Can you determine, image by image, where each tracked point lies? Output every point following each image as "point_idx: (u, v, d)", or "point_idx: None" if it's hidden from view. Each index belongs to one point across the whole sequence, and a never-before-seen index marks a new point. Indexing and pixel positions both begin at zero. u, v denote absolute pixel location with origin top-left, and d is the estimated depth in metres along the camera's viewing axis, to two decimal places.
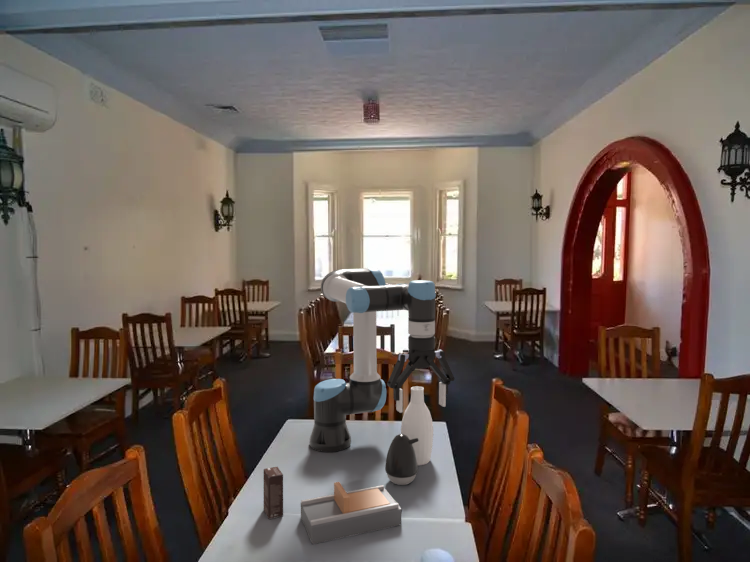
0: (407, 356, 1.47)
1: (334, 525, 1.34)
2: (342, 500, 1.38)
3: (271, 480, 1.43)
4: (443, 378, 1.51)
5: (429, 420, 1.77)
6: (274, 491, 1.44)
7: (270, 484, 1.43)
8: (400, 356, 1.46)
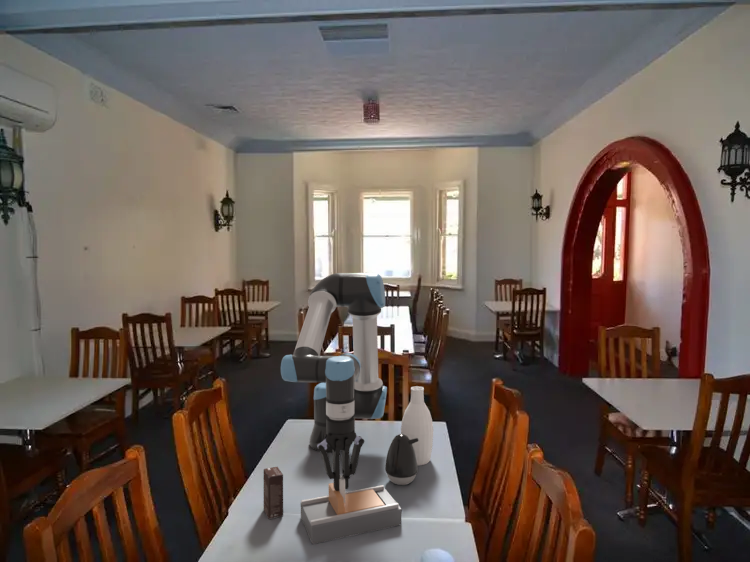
0: (325, 442, 1.38)
1: (334, 525, 1.34)
2: (336, 501, 1.38)
3: (271, 480, 1.43)
4: (346, 470, 1.40)
5: (429, 420, 1.77)
6: (274, 491, 1.44)
7: (270, 484, 1.43)
8: (318, 448, 1.37)
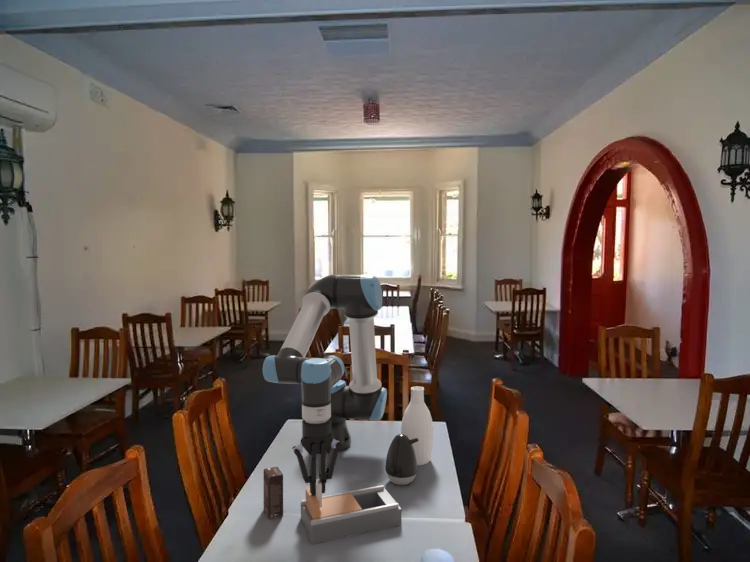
0: (301, 446, 1.36)
1: (334, 525, 1.34)
2: (312, 506, 1.35)
3: (271, 480, 1.43)
4: (322, 474, 1.38)
5: (429, 420, 1.77)
6: (274, 491, 1.44)
7: (270, 484, 1.44)
8: (294, 452, 1.35)
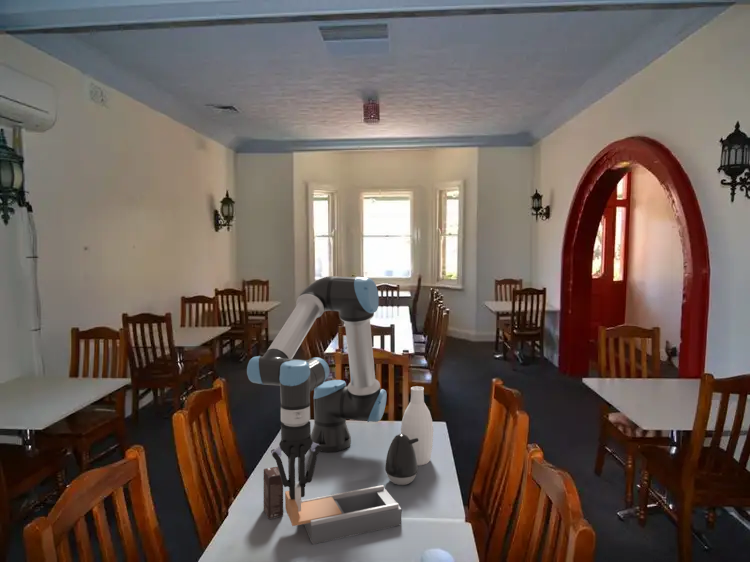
0: (279, 449, 1.34)
1: (334, 525, 1.34)
2: (291, 510, 1.33)
3: (271, 480, 1.43)
4: (301, 478, 1.36)
5: (429, 420, 1.77)
6: (274, 491, 1.44)
7: (270, 484, 1.43)
8: (272, 455, 1.33)
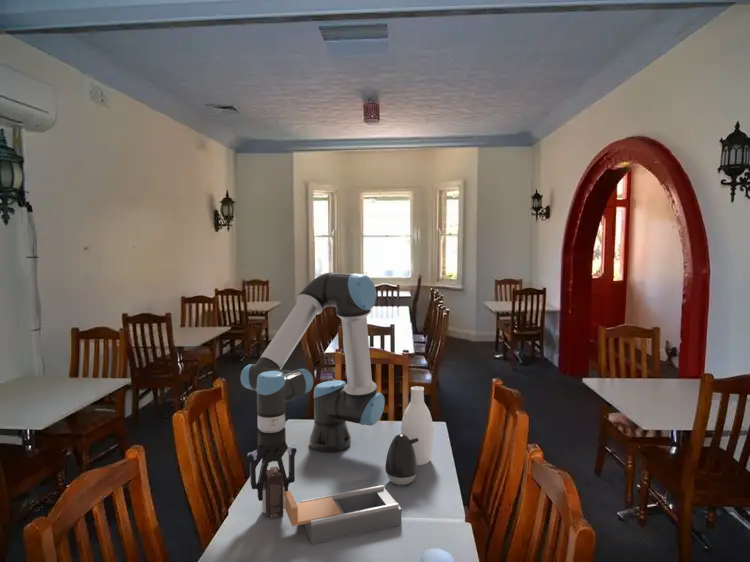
0: (255, 453, 1.44)
1: (334, 525, 1.34)
2: (290, 510, 1.33)
3: (270, 480, 1.43)
4: (284, 478, 1.47)
5: (429, 420, 1.77)
6: (274, 491, 1.44)
7: (270, 484, 1.43)
8: (248, 457, 1.43)
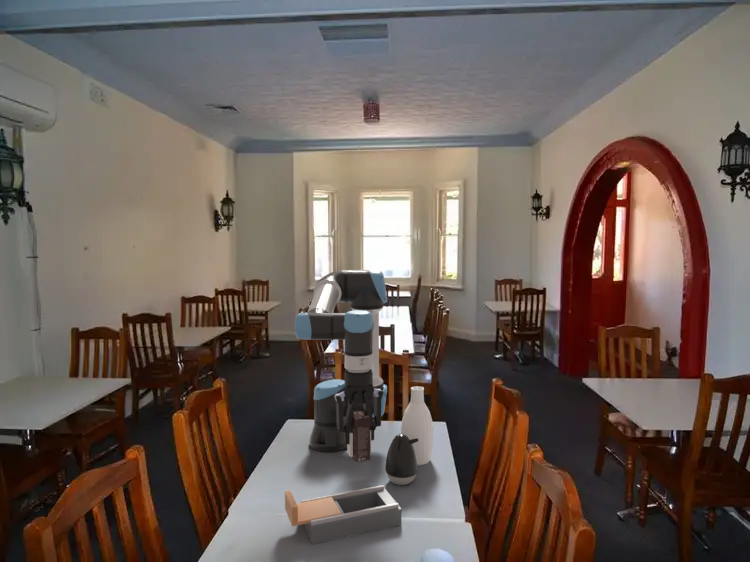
0: (343, 394, 1.39)
1: (334, 525, 1.34)
2: (290, 510, 1.33)
3: (358, 423, 1.38)
4: (370, 422, 1.42)
5: (429, 420, 1.77)
6: (362, 434, 1.39)
7: (357, 426, 1.38)
8: (335, 398, 1.38)
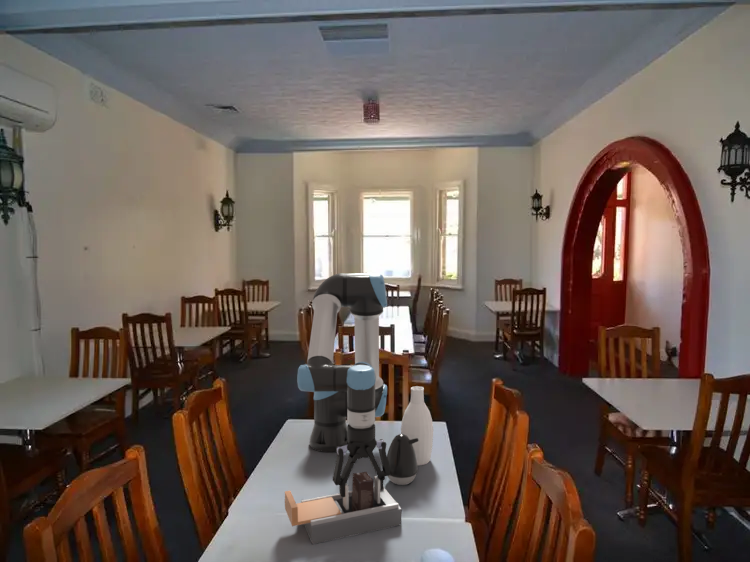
0: (345, 448, 1.40)
1: (334, 525, 1.34)
2: (290, 510, 1.33)
3: (361, 486, 1.40)
4: (378, 472, 1.44)
5: (429, 420, 1.77)
6: (365, 496, 1.41)
7: (361, 489, 1.40)
8: (338, 451, 1.39)
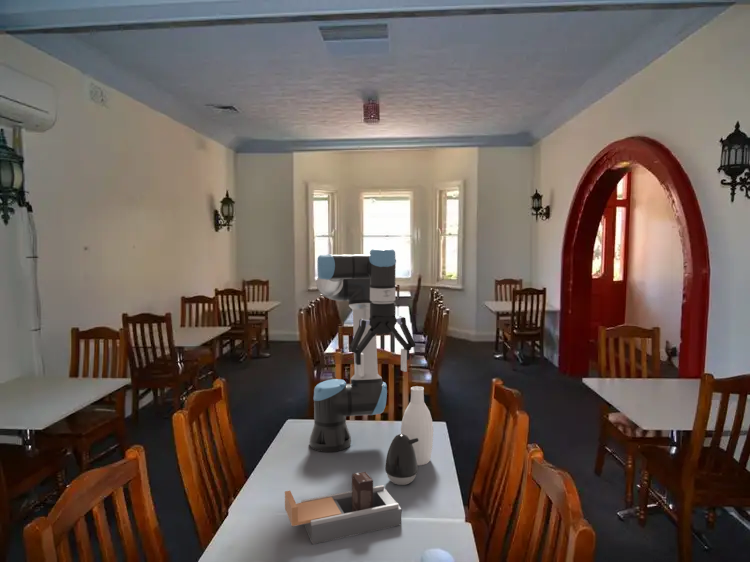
0: (368, 322, 1.52)
1: (334, 525, 1.34)
2: (290, 510, 1.33)
3: (361, 486, 1.40)
4: (404, 344, 1.56)
5: (429, 420, 1.77)
6: (364, 497, 1.41)
7: (360, 490, 1.40)
8: (361, 321, 1.51)
